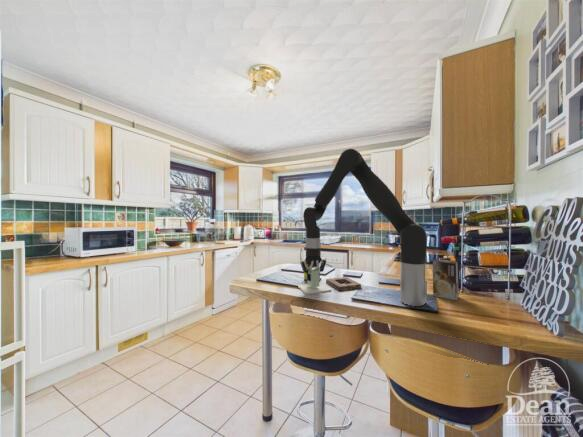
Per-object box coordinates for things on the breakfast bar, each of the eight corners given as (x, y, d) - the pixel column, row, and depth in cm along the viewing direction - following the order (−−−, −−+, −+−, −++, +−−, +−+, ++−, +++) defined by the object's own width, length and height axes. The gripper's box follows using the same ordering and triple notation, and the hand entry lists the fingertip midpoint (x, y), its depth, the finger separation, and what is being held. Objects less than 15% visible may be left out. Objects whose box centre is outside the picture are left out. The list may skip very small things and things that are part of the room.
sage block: (314, 283, 121) (314, 267, 121) (319, 286, 115) (319, 270, 115) (307, 283, 120) (307, 268, 120) (312, 287, 114) (311, 271, 114)
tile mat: (319, 283, 126) (319, 282, 126) (330, 291, 114) (330, 289, 114) (297, 286, 122) (297, 284, 122) (306, 294, 110) (306, 292, 109)
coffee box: (458, 296, 104) (459, 261, 104) (456, 300, 100) (456, 263, 99) (435, 292, 111) (435, 258, 110) (432, 295, 106) (432, 261, 106)
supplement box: (312, 282, 129) (312, 262, 129) (303, 280, 133) (303, 261, 133) (318, 279, 134) (318, 260, 134) (309, 277, 138) (309, 259, 137)
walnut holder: (346, 280, 132) (346, 276, 132) (361, 288, 118) (361, 284, 118) (326, 282, 128) (326, 279, 128) (339, 290, 114) (339, 286, 114)
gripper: (302, 248, 111) (303, 284, 112) (329, 246, 116) (329, 281, 116) (297, 246, 119) (297, 279, 119) (322, 244, 123) (322, 277, 123)
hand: (313, 280), depth 118 cm, fingers closed on sage block, 4 cm apart
